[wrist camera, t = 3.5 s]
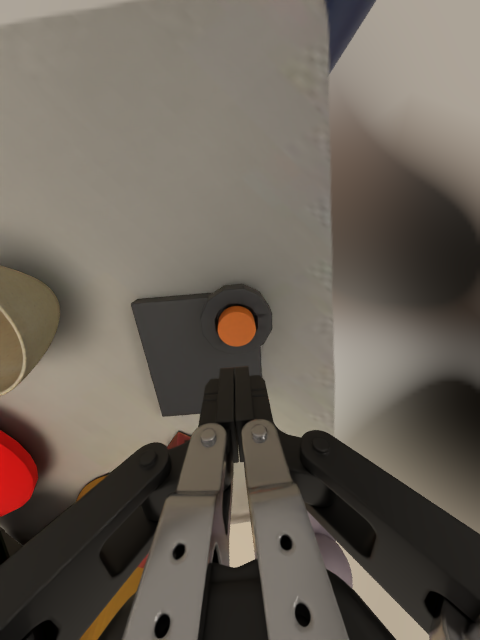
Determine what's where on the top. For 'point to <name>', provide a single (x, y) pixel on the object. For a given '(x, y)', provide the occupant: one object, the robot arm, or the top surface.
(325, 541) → the cat figurine
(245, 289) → the kitchen scale
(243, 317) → the button
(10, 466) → the flat cone with hole
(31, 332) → the flower pot
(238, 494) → the top surface
